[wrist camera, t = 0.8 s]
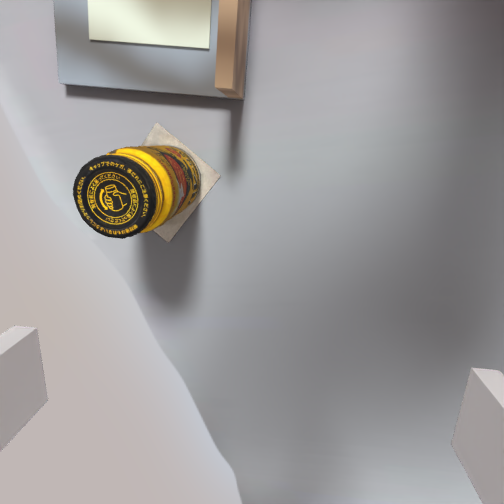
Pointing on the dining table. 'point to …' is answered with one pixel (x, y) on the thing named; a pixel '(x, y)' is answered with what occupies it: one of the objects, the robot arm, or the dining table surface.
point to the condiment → (143, 187)
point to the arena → (154, 45)
